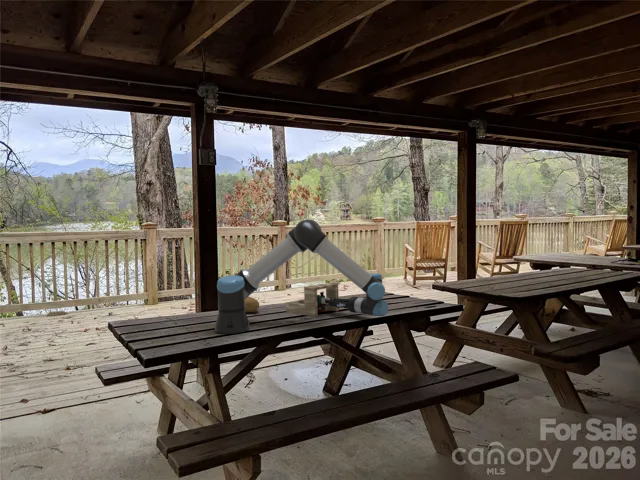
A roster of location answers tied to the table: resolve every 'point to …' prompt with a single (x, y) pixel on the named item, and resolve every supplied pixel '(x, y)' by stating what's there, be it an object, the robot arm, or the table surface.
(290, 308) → the tunnel
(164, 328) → the table surface
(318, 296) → the binoculars
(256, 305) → the potato
